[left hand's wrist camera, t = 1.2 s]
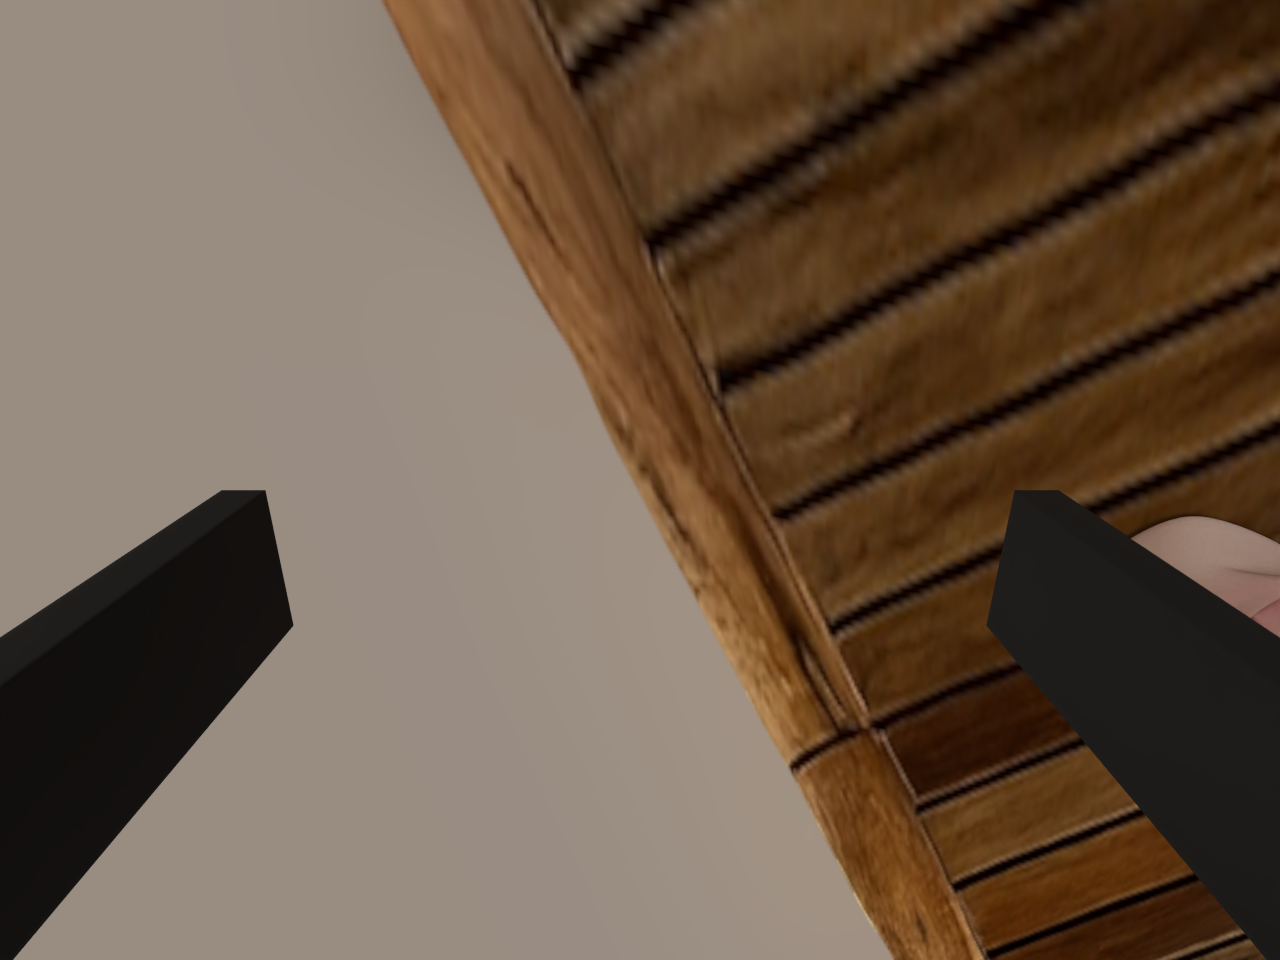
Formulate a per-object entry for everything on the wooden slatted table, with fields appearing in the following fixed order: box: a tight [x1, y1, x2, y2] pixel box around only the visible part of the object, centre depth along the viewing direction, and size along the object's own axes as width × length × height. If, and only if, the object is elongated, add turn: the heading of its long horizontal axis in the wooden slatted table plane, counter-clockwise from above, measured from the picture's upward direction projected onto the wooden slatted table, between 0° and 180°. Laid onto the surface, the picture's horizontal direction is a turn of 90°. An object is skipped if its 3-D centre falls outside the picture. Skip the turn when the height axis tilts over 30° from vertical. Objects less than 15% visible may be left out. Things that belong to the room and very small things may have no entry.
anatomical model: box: [1131, 516, 1280, 637], centre depth 42 cm, size 13×4×12 cm
